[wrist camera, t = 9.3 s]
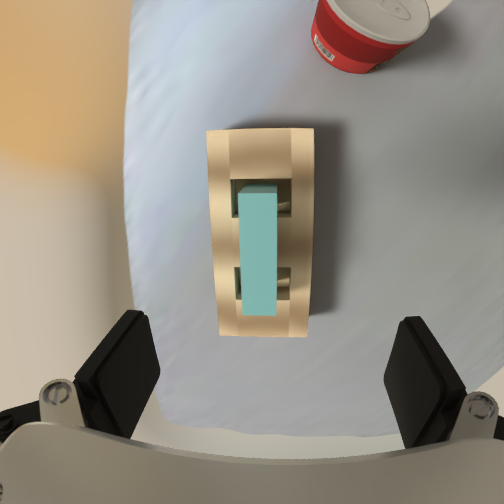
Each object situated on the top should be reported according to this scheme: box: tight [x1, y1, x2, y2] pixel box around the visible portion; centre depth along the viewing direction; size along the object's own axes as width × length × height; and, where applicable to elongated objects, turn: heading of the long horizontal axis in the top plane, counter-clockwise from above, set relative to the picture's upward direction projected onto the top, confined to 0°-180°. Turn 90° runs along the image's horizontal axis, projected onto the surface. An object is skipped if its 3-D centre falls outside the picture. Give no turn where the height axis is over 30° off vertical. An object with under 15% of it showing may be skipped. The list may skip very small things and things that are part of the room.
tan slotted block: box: [206, 128, 314, 337], centre depth 29 cm, size 20×9×4 cm, turn 1°
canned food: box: [311, 0, 430, 74], centre depth 18 cm, size 8×8×11 cm
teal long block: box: [238, 183, 277, 316], centre depth 26 cm, size 10×3×7 cm, turn 1°
